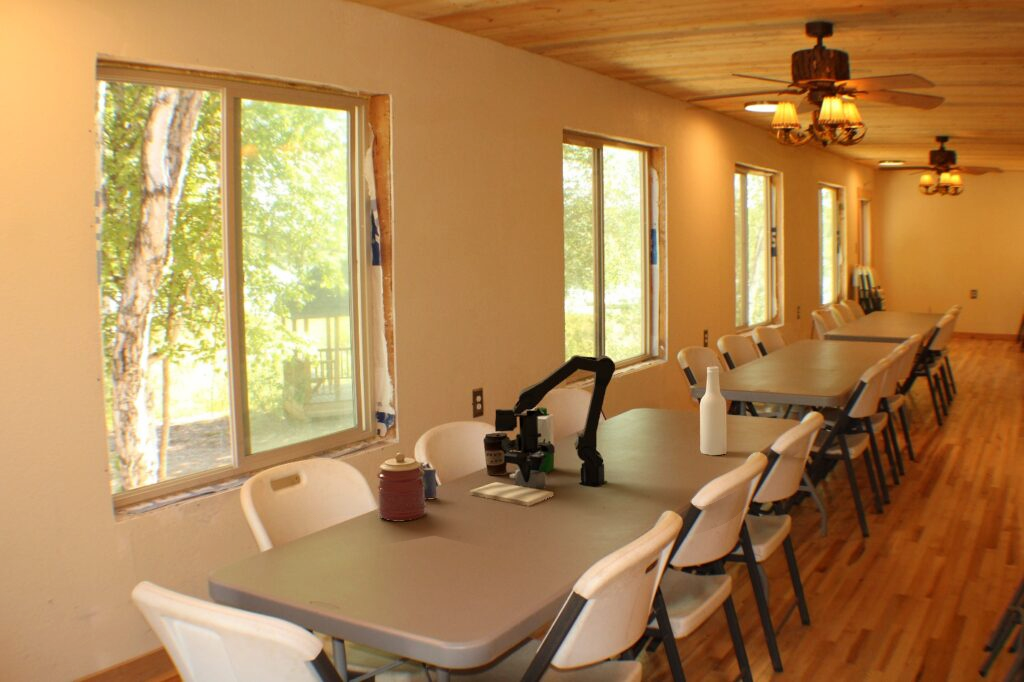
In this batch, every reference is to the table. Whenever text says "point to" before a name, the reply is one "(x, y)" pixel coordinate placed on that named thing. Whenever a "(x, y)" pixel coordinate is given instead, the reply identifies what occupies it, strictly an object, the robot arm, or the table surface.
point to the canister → (401, 489)
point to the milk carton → (546, 438)
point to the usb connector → (530, 479)
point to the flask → (429, 481)
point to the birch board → (511, 493)
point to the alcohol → (713, 416)
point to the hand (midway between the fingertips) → (530, 480)
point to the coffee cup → (495, 453)
